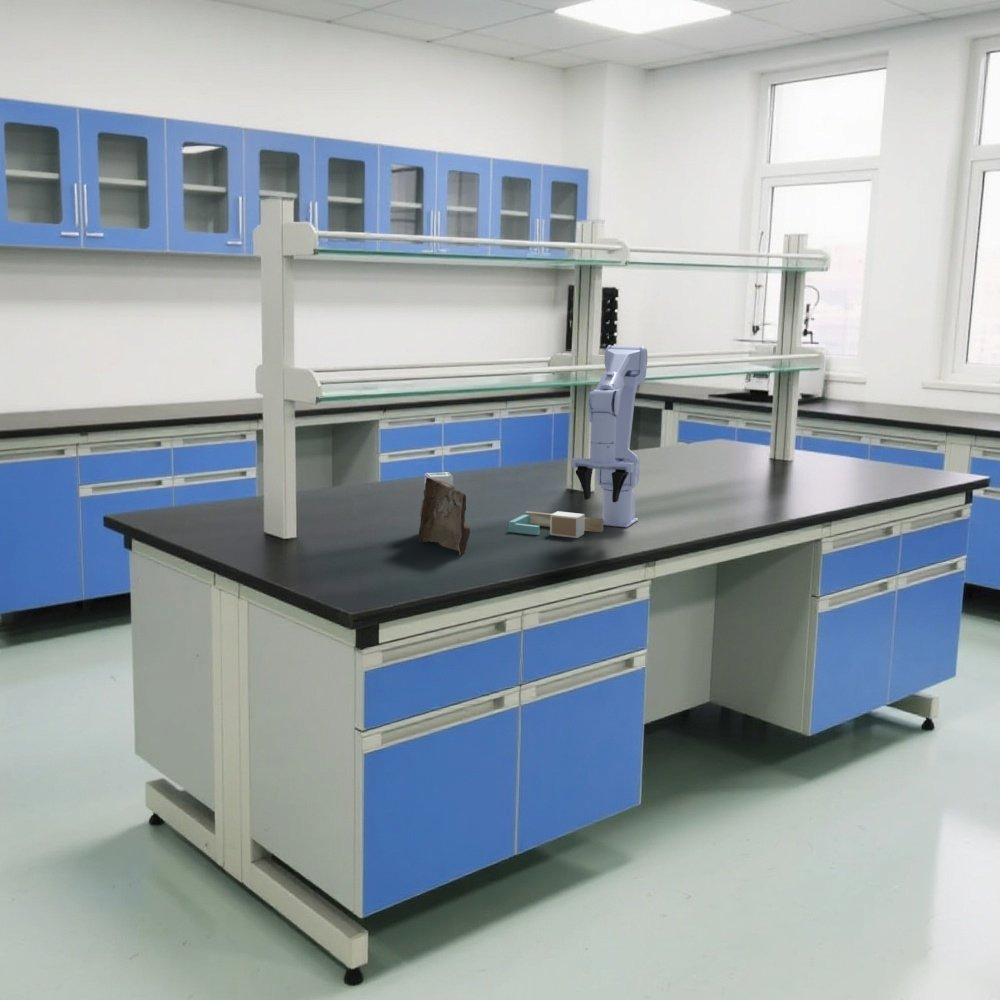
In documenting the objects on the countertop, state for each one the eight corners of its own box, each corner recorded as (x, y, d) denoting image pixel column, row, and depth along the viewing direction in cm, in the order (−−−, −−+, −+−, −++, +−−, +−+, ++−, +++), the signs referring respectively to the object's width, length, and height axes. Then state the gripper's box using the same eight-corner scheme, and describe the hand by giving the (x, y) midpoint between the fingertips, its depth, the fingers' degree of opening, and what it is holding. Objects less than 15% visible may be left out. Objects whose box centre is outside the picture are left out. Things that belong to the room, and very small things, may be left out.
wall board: (527, 522, 275) (527, 511, 274) (603, 531, 267) (603, 519, 266) (524, 524, 274) (524, 512, 273) (601, 532, 265) (601, 520, 265)
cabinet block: (557, 531, 267) (557, 511, 266) (584, 534, 264) (584, 514, 263) (549, 535, 263) (550, 514, 262) (577, 538, 260) (577, 517, 259)
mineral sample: (418, 542, 254) (418, 477, 251) (432, 540, 257) (433, 475, 254) (459, 557, 241) (460, 489, 238) (474, 555, 243) (475, 487, 240)
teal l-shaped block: (524, 524, 274) (524, 514, 273) (552, 527, 271) (553, 517, 270) (508, 531, 265) (508, 521, 265) (537, 535, 262) (537, 524, 262)
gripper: (567, 442, 253) (565, 500, 256) (627, 446, 247) (625, 506, 250) (578, 438, 259) (576, 495, 262) (637, 442, 253) (635, 500, 256)
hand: (601, 500), depth 256 cm, fingers open, 6 cm apart
